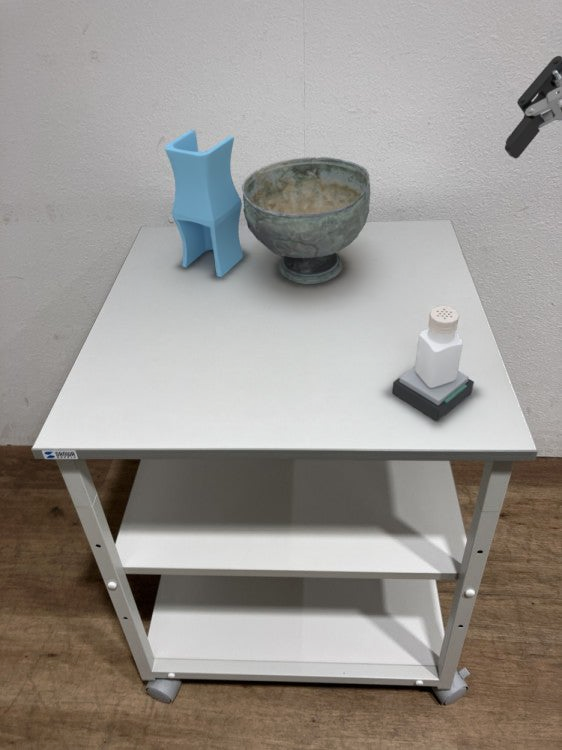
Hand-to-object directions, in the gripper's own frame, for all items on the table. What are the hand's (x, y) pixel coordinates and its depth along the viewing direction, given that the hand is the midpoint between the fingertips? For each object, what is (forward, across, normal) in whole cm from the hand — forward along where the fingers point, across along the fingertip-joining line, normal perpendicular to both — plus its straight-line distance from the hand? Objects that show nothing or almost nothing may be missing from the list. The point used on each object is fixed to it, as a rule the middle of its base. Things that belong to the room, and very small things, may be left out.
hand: (539, 168), depth 64 cm
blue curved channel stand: (+34, -44, +4) cm, 56 cm away
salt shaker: (+24, 0, +10) cm, 26 cm away
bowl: (+26, -33, +12) cm, 44 cm away
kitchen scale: (+26, +1, +12) cm, 29 cm away
